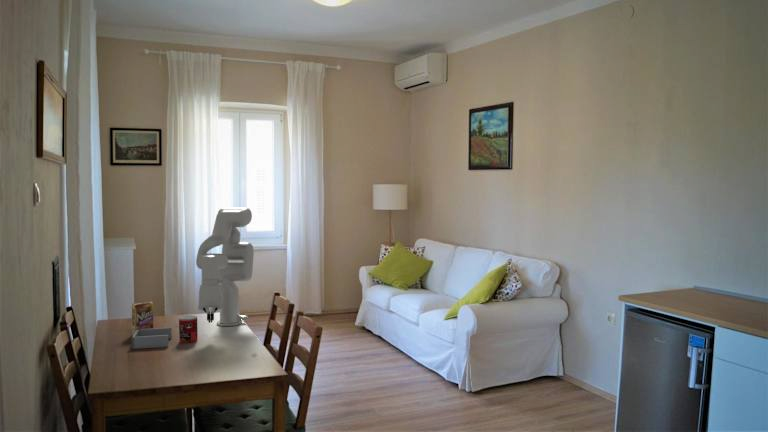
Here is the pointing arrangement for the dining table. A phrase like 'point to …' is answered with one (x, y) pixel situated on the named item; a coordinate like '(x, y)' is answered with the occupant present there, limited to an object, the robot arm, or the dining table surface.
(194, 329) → the canned food
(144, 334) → the box
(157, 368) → the dining table surface
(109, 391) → the dining table surface
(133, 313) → the candy box
